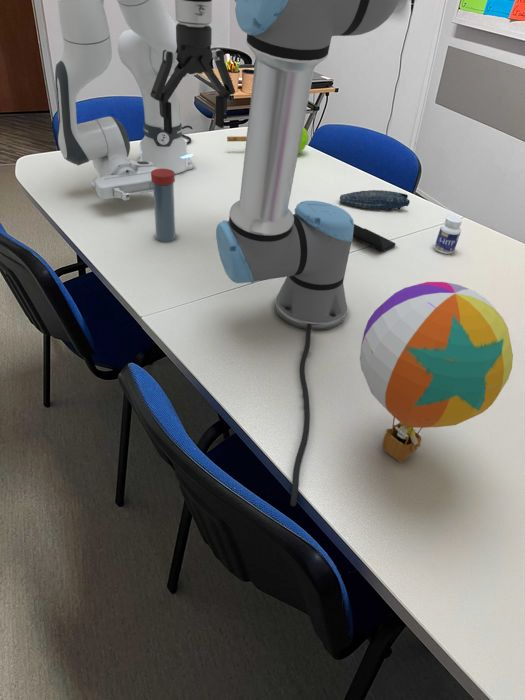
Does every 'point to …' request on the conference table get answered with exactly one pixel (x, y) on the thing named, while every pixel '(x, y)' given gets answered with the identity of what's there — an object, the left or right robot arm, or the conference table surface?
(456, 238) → the pill bottle
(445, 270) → the conference table surface
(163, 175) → the lid
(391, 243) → the handheld gaming console
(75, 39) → the left robot arm
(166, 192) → the blue-grey tall cylinder
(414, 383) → the toy
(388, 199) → the fish model
